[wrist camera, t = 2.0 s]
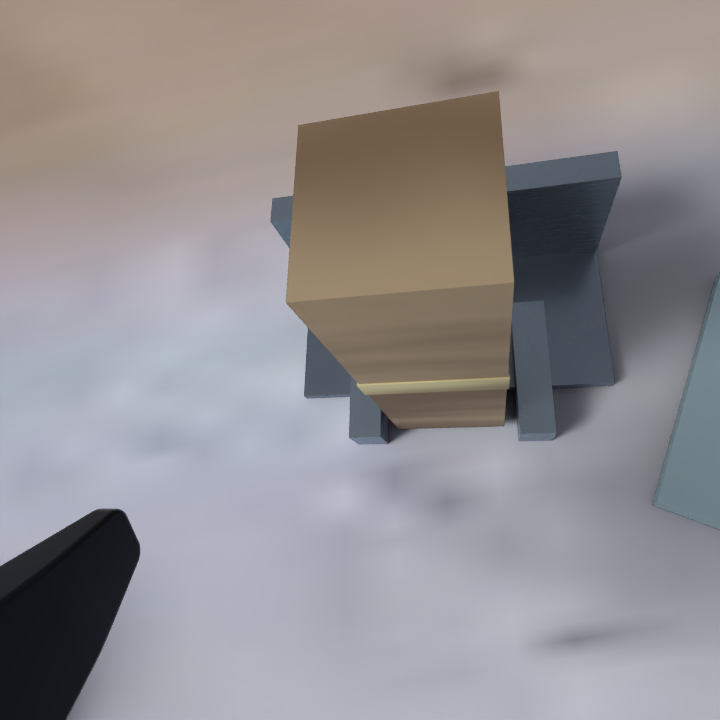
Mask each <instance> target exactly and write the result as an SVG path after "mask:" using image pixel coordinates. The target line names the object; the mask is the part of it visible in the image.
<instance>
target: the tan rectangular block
mask: <svg viewBox="0 0 720 720" xmlns="http://www.w3.org/2000/svg"><path fill="white" fill-rule="evenodd" d="M513 293H514V274H513V262H512V249H511V237H510V224H509V212H508V199H507V187H506V175H505V162H504V150H503V137H502V125H501V112H500V100H499V91H497V92H491V93H485V94H479V95H473V96H467V97H461V98H456V99H450V100H444V101H438V102H432V103H426V104H420V105H414V106H409V107H403V108H397V109H391V110H385V111H379V112H373V113H368V114H362V115H356V116H350V117H344V118H338V119H332V120H326V121H321V122H315V123H309V124H303V125H298V138H297V152H296V166H295V180H294V194H293V208H292V222H291V236H290V250H289V264H288V278H287V292H286V303H287V305H288V306H289V307H290V308H291V309H292V310H293V311H294V312H295V313H296V315H297V316H298V317H299V318H300V319H301V320H302V321H303V322H304V324H305V325H306V326H307V327H308V328H309V329H310V330H311V331H312V333H313V334H314V335H315V336H316V337H317V338H318V339H319V340H320V341H321V343H322V344H323V345H324V346H325V347H326V348H327V349H328V350H329V352H330V353H331V354H332V355H333V356H334V357H335V358H336V359H337V361H338V362H339V363H340V364H341V365H342V366H343V367H344V368H345V370H346V371H347V372H348V373H349V374H350V375H351V376H352V377H353V378H354V380H355V381H356V382H357V387H358V388H359V389H360V390H361V391H362V392H363V393H364V394H365V395H369V396H370V398H371V399H372V400H373V401H374V402H375V403H376V404H377V405H378V406H379V408H380V409H381V410H382V411H383V412H384V413H385V414H386V415H387V417H388V418H389V419H390V420H391V421H392V422H393V423H394V424H395V426H396V427H397V428H398V429H418V428H456V427H493V426H504V422H505V408H506V394H507V389H509V382H510V375H509V350H510V336H511V321H512V307H513Z"/></svg>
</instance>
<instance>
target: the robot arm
mask: <svg viewBox="0 0 720 720" xmlns="http://www.w3.org/2000/svg"><path fill="white" fill-rule="evenodd" d="M139 557H140V544H139V541H138V539H137V537H136V535H135V533H134V531H133V528H132V526H131V524H130V522H129V520H128V517H127V515H126V514H125V512H123V511H122V510H120V509H97V510H95V511H93V512H91V513H89V514H88V515H86V516H84V517H83V518H81V519H79V520H78V521H76V522H74V523H73V524H71V525H69V526H67V527H66V528H64V529H62V530H61V531H59V532H57V533H56V534H54V535H52V536H51V537H49V538H47V539H46V540H44V541H42V542H40V543H39V544H37V545H35V546H34V547H32V548H30V549H29V550H27V551H25V552H24V553H22V554H20V555H18V556H17V557H15V558H13V559H12V560H10V561H8V562H7V563H5V564H3V565H2V566H0V720H66V719H67V717H68V715H69V713H70V712H71V710H72V708H73V706H74V704H75V702H76V700H77V698H78V696H79V694H80V692H81V690H82V688H83V686H84V684H85V682H86V680H87V678H88V676H89V674H90V672H91V671H92V669H93V667H94V665H95V663H96V661H97V658H98V656H99V654H100V652H101V650H102V648H103V646H104V643H105V641H106V639H107V636H108V634H109V632H110V629H111V627H112V624H113V622H114V619H115V617H116V615H117V612H118V610H119V607H120V605H121V602H122V600H123V597H124V595H125V592H126V590H127V588H128V585H129V583H130V580H131V578H132V575H133V573H134V570H135V568H136V565H137V563H138V560H139Z"/></svg>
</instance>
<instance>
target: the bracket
mask: <svg viewBox="0 0 720 720" xmlns="http://www.w3.org/2000/svg"><path fill="white" fill-rule="evenodd" d="M505 175H506V187H507V199H508V212H509V224H510V237H511V249H512V262H513V274H514V293H513V307H512V321H511V336H510V350H509V375H510V382H509V389H507V390H515V398H516V411H517V425H518V438H519V441H547V440H553V439H554V437H555V435H556V433H557V431H556V421H555V411H554V400H553V390H552V388H567V387H591V386H613V384H614V383H615V381H614V374H613V366H612V359H611V352H610V345H609V338H608V330H607V323H606V316H605V309H604V302H603V294H602V287H601V280H600V273H599V265H598V258H597V251H596V250H597V247H598V244H599V241H600V238H601V235H602V232H603V229H604V226H605V224H606V221H607V218H608V215H609V212H610V209H611V206H612V203H613V200H614V198H615V195H616V192H617V189H618V186H619V183H620V180H621V177H622V176H621V170H620V164H619V158H618V152H617V151H615V152H607V153H600V154H593V155H586V156H578V157H571V158H564V159H557V160H549V161H542V162H535V163H528V164H520V165H513V166H506V167H505ZM292 208H293V196H288V197H281V198H273V199H272V210H271V221H270V222H271V223H272V224H273V226H274V227H275V229H276V230H277V231H278V233H279V234H280V236H281V237H282V238H283V240H284V241H285V243H286V244H287V245H288V247H289V248H290V236H291V222H292ZM304 396H305V397H306V398H329V397H350V425H349V438H350V439H352V440H353V441H355V442H356V443H358V444H388V417H387V415H386V414H385V413H384V412H383V411H382V410H381V409H380V408H379V406H378V405H377V404H376V403H375V402H374V401H373V400H372V399H371V398H370V396H369V395H365V394H364V393H363V392H362V391H361V390H360V389H359V388H358V387H357V382H356V381H355V380H354V378H353V377H352V376H351V375H350V374H349V373H348V372H347V371H346V370H345V368H344V367H343V366H342V365H341V364H340V363H339V362H338V361H337V359H336V358H335V357H334V356H333V355H332V354H331V353H330V352H329V350H328V349H327V348H326V347H325V346H324V345H323V344H322V343H321V341H320V340H319V339H318V338H317V337H316V336H315V335H314V334H313V333H312V331H311V330H310V329H309V328H308V336H307V354H306V372H305V390H304Z"/></svg>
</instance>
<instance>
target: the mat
mask: <svg viewBox="0 0 720 720" xmlns="http://www.w3.org/2000/svg"><path fill="white" fill-rule="evenodd" d="M652 505H654V506H657V507H660V508H662V509H665V510H668V511H671V512H673V513H676V514H679V515H681V516H684V517H687V518H690V519H692V520H695V521H698V522H701V523H703V524H706V525H709V526H711V527H714V528H717V529H720V273H719V274H718V275H717V277H716V279H715V282H714V286H713V290H712V293H711V297H710V300H709V304H708V307H707V311H706V315H705V318H704V322H703V325H702V329H701V332H700V336H699V340H698V343H697V347H696V350H695V354H694V358H693V361H692V365H691V368H690V372H689V375H688V379H687V383H686V386H685V390H684V393H683V397H682V400H681V404H680V408H679V411H678V415H677V418H676V422H675V425H674V429H673V433H672V436H671V440H670V443H669V447H668V451H667V454H666V458H665V461H664V465H663V468H662V472H661V476H660V479H659V483H658V486H657V490H656V493H655V497H654V501H653V504H652Z"/></svg>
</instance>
